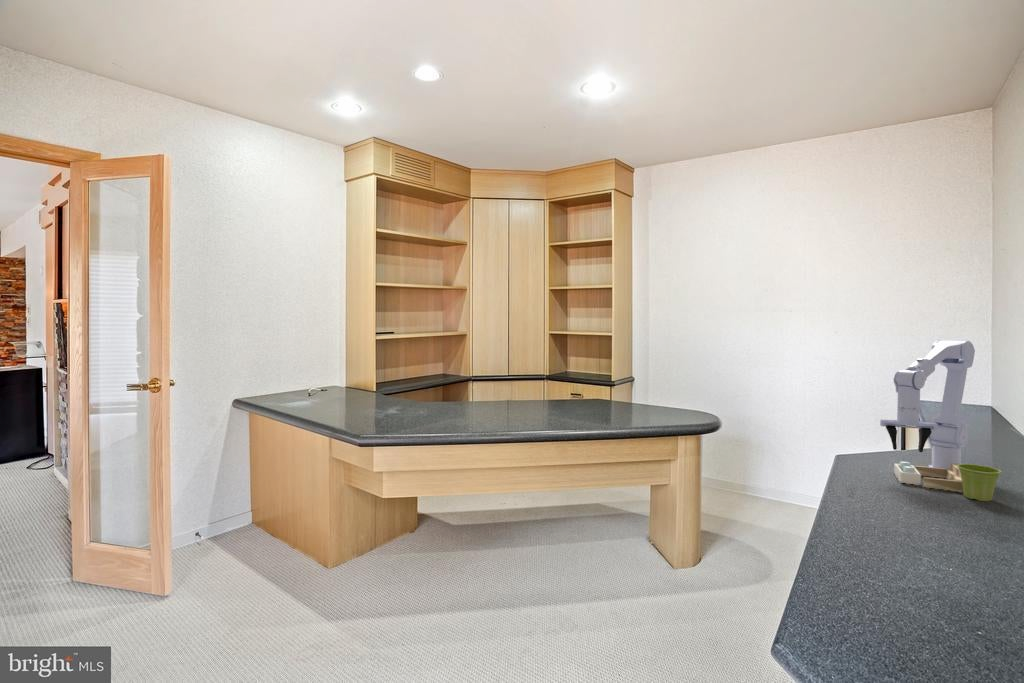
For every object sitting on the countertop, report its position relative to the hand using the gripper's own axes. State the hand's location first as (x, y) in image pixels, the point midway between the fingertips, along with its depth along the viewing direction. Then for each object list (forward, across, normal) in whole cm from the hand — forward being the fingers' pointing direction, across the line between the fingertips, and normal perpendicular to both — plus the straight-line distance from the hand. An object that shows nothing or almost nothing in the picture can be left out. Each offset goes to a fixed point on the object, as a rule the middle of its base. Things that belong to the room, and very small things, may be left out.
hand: (907, 450), depth 172 cm
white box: (+9, 0, 0) cm, 9 cm away
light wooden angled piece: (+9, +9, 0) cm, 13 cm away
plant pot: (+10, +14, -13) cm, 22 cm away
